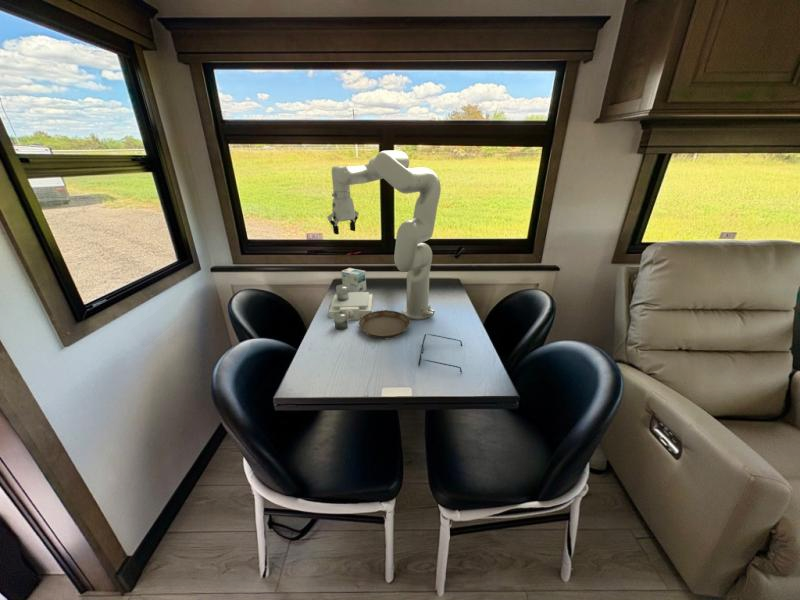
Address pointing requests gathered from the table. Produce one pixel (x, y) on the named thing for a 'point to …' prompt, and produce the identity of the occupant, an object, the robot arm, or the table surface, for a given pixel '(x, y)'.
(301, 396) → the table surface
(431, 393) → the table surface
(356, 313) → the scale
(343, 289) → the ball
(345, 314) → the cylinder
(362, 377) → the table surface
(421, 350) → the sunglasses
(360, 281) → the light bulb box
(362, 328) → the plant saucer
